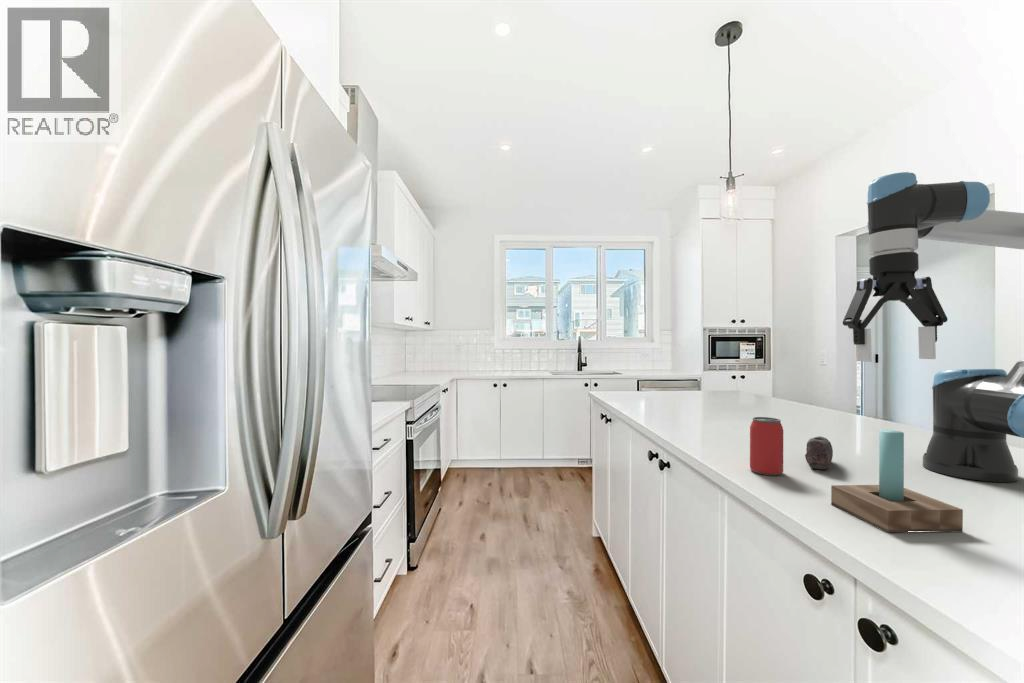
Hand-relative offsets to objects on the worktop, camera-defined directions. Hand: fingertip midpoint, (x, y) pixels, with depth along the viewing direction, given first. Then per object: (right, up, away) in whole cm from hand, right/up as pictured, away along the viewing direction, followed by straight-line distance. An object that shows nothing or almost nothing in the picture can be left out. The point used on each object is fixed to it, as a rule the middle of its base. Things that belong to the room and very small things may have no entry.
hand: (895, 360), depth 91 cm
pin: (-13, -26, -14) cm, 32 cm away
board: (-13, -26, -14) cm, 32 cm away
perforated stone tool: (-4, -26, +17) cm, 31 cm away
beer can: (-19, -26, +12) cm, 35 cm away
